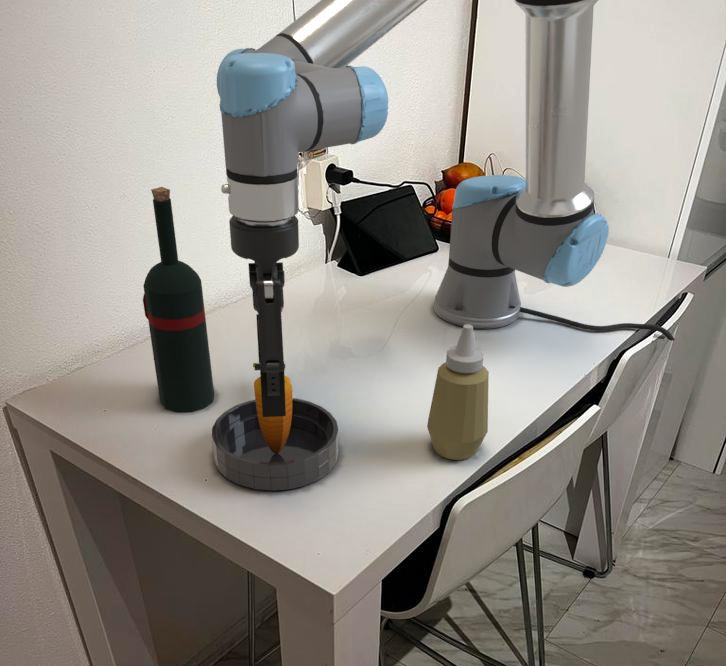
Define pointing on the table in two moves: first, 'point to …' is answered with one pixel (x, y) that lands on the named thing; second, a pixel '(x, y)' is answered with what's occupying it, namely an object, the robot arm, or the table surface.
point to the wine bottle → (177, 321)
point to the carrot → (274, 418)
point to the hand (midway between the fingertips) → (271, 387)
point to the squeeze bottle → (460, 400)
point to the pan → (256, 460)
